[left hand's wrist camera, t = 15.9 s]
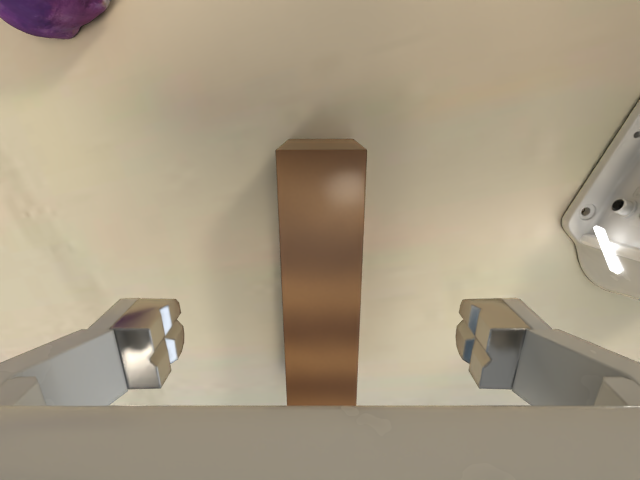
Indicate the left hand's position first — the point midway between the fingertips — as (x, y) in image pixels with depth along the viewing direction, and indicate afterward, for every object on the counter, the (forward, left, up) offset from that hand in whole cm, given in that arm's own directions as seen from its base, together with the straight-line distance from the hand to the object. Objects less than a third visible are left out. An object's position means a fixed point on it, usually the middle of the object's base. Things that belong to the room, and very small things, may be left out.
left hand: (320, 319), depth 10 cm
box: (+10, +2, -26) cm, 28 cm away
